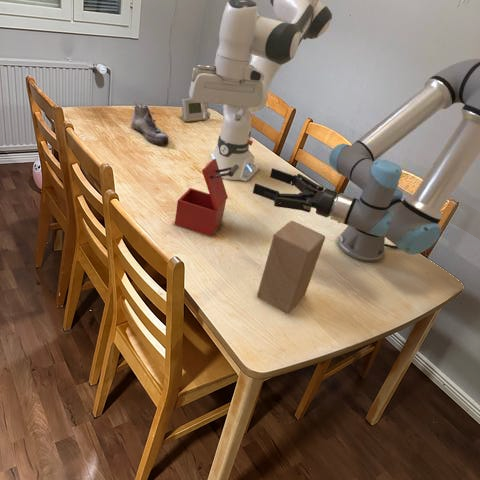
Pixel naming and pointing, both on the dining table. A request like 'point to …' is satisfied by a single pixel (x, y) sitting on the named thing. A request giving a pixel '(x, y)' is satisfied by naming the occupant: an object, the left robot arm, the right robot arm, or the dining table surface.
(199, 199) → the chest
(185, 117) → the digital clock
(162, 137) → the shoe
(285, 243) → the wooden block
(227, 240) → the dining table surface
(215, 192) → the lid
